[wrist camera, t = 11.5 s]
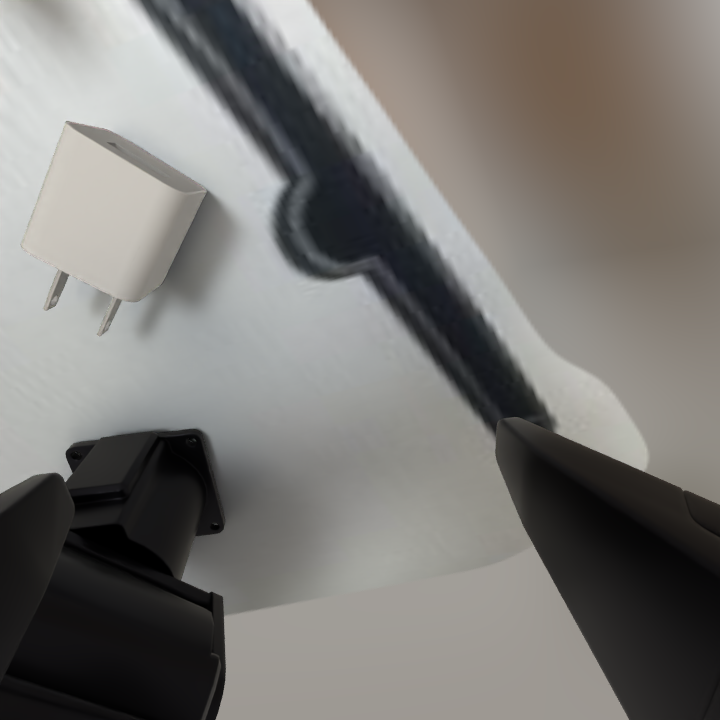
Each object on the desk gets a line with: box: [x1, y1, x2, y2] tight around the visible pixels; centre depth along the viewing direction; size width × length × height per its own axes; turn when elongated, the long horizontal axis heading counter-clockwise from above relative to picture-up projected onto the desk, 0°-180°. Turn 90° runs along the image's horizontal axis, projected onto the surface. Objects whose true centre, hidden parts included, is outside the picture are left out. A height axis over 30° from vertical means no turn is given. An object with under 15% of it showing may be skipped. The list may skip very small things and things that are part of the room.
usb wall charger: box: [21, 121, 207, 336], centre depth 16 cm, size 4×7×4 cm, turn 147°
